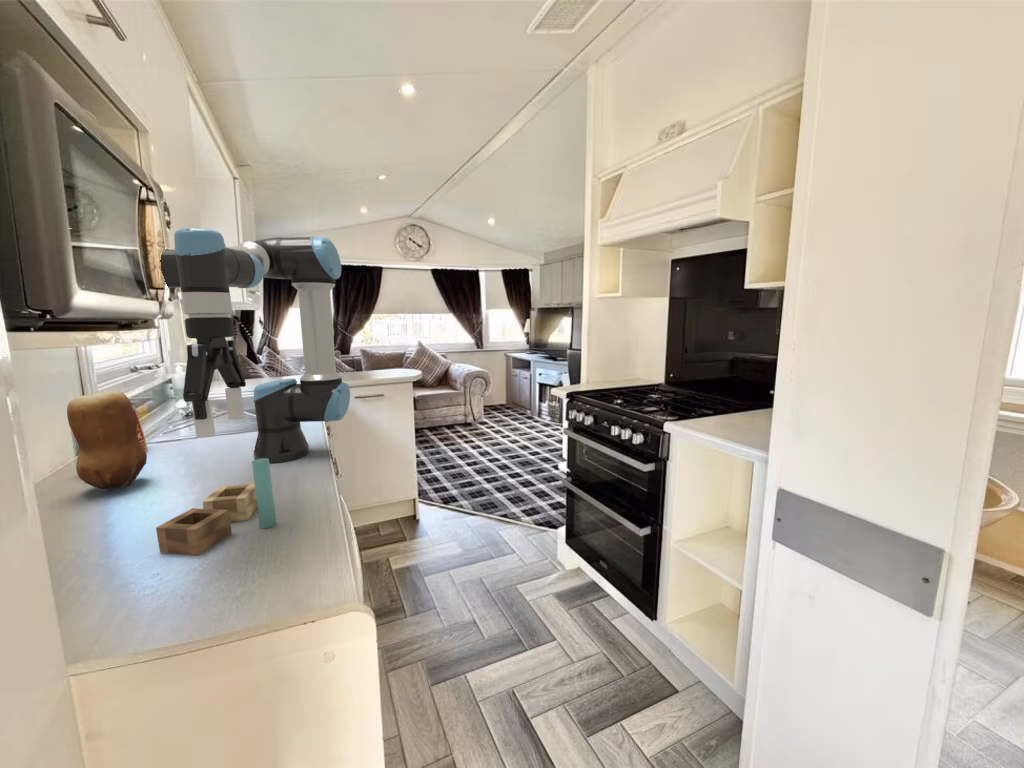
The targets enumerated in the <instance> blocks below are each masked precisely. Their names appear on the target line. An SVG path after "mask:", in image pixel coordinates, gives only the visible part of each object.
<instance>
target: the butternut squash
mask: <svg viewBox="0 0 1024 768" xmlns="http://www.w3.org/2000/svg"><path fill="white" fill-rule="evenodd" d="M128 398H129V397H128V396H127V395H126V394H125V393H124V392H122V391H120V390H107V391H102V392H97V393H96V392H95V393H91V394H89V395H87V394H86V395H85V394H84V395H80V396H77V397H75V398H73V399H71V400H70V401H69V402H68V404H67V406H66V417H67V422H68V426H69V428H70V430H71V432H72V434H73V436H74V438H75V440H76V443H77V445H78V454H77V458H76V463H75V465H76V466H75V470H76V473H77V476H78V478H79V479H80V480H81V481H83V483H85V484H87V485H89V486H91V487H94V488H96V489H99V490H104V491H107V492H109V491H114V490H117V489H118V490H119V489H123V488H127V487H129V486H130V485H132V483H133V482H134V481H136V479H137V478H138V476H139V475H140V473H141V471H142V470H143V468H144V467H145V466H146V464H147V460H148V459H147V458H148V454H147V452H146V451H145V450H144V448H143V446H142V445H141V444H140V442H139V439H138V435H137V422H136V418H135V414H134V411H133V407H132V405H131V403H132V402H131V400H130V398H129V399H128Z"/></svg>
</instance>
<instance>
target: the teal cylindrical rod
mask: <svg viewBox="0 0 1024 768" xmlns="http://www.w3.org/2000/svg"><path fill="white" fill-rule="evenodd" d="M270 464H271V463H269V459H267V458H262V459H257V460H252V461H251V466H252V471H253V472H252V473H253V474H252V475H253V481H254V482H253V484H255V492H256V500H257V515H258V524H259V528H260V529H262V530H263V529H264V530H265V529H270V528H273V527H274V526H276V525H277V520H276V519H277V518H276V512H275V511H276V510H275V503H274V502H275V501H274V493H273V484H272V483H273V482H272V473H271V468H270V466H271V465H270Z"/></svg>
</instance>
